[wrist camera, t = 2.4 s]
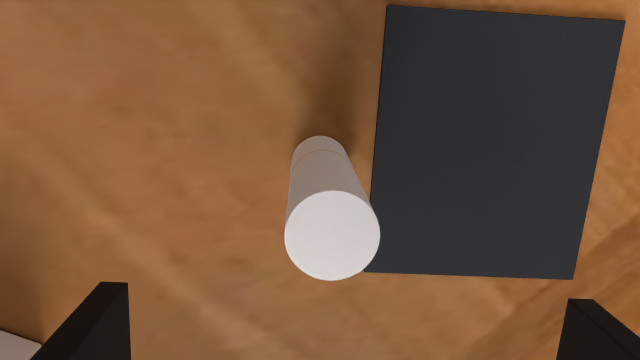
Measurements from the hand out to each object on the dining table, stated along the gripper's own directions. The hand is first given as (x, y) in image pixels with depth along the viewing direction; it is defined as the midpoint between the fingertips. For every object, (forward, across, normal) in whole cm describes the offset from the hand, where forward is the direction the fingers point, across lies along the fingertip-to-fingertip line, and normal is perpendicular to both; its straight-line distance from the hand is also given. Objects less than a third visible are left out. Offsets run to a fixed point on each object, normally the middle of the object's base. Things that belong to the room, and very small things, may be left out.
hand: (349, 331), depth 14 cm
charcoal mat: (+22, +12, +2) cm, 26 cm away
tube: (+23, 0, 0) cm, 23 cm away
